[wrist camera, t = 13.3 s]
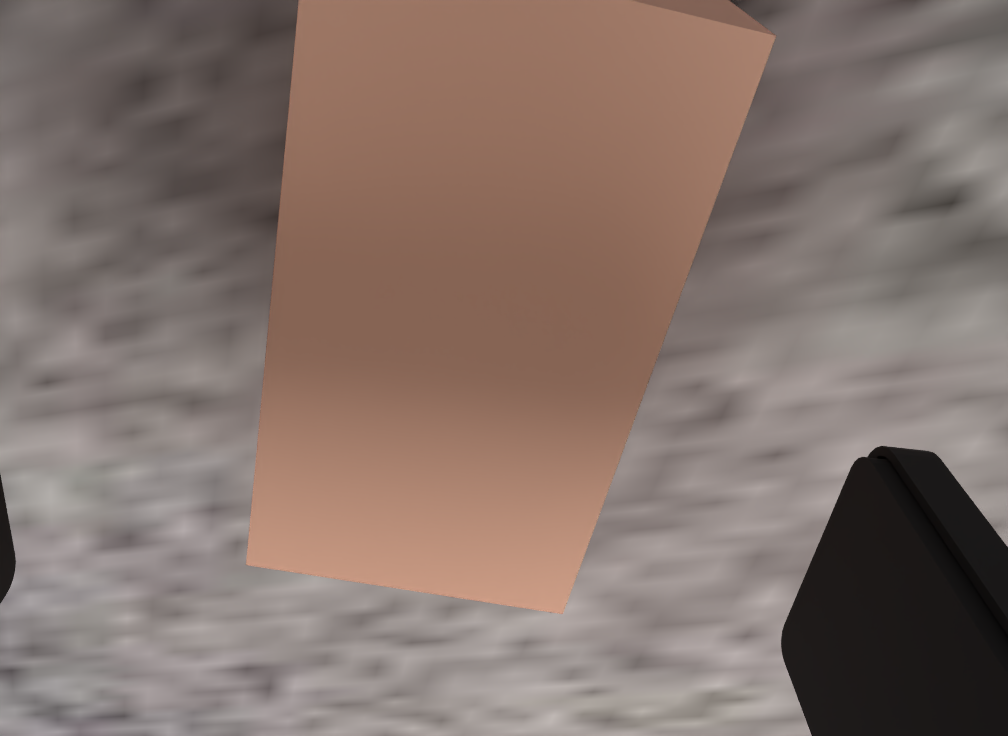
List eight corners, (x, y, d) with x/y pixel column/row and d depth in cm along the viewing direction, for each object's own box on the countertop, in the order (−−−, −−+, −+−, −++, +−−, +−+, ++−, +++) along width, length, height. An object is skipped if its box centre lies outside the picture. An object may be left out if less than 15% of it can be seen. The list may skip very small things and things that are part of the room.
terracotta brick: (377, -113, 14) (306, -79, 9) (677, -38, 14) (775, 36, 9) (316, 360, 18) (246, 564, 13) (545, 403, 19) (562, 614, 14)
